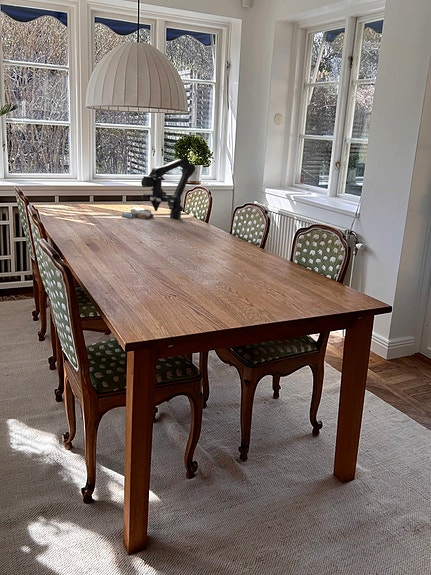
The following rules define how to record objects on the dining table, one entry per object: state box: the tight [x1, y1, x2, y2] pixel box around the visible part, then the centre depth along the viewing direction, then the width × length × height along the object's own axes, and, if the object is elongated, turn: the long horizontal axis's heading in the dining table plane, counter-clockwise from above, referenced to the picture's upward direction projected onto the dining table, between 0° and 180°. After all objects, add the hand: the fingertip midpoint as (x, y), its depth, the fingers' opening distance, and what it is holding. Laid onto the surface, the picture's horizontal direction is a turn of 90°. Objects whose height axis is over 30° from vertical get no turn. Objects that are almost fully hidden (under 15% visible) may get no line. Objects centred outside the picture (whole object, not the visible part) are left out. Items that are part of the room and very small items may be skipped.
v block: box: [121, 212, 138, 220], centre depth 347 cm, size 8×6×3 cm
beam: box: [120, 211, 154, 220], centre depth 353 cm, size 22×9×3 cm, turn 61°
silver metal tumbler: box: [130, 206, 153, 219], centre depth 351 cm, size 13×6×6 cm, turn 61°
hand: (156, 211), depth 345 cm, fingers closed
